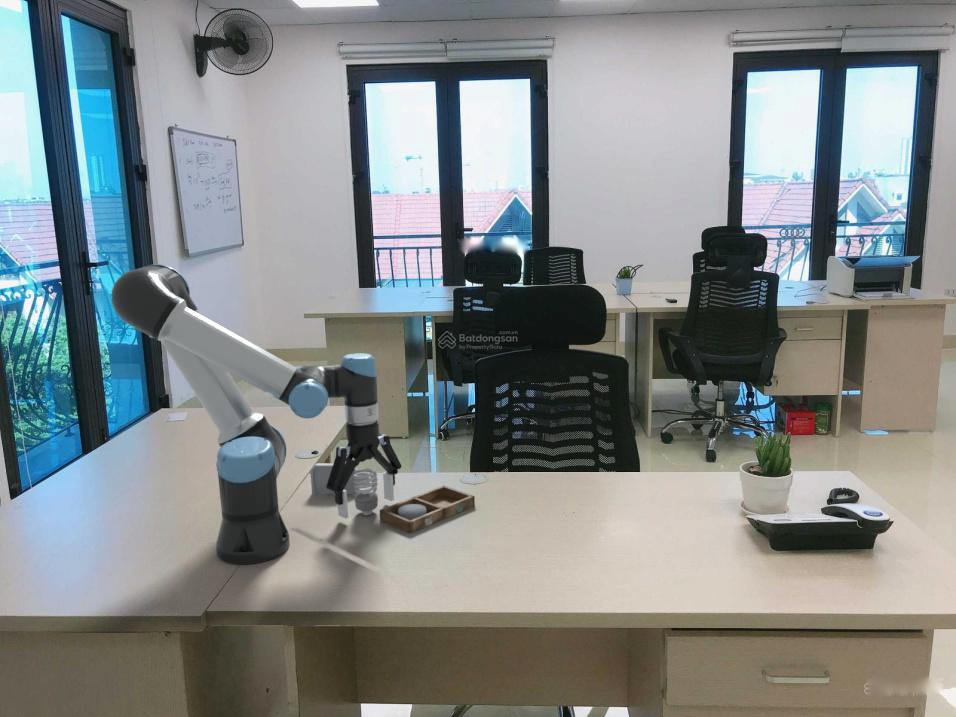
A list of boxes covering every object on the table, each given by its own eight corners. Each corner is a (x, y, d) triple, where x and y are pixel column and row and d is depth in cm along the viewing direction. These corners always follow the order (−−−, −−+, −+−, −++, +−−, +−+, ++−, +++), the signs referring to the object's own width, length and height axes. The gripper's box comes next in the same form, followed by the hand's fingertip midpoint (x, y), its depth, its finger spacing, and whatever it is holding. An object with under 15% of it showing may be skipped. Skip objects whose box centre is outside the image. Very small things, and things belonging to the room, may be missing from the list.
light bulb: (350, 519, 181) (347, 470, 179) (364, 510, 186) (362, 463, 183) (370, 523, 178) (367, 474, 176) (384, 514, 183) (381, 466, 181)
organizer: (411, 537, 170) (410, 522, 170) (380, 524, 178) (379, 509, 177) (475, 509, 185) (475, 496, 184) (444, 498, 192) (443, 485, 191)
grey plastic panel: (357, 495, 196) (356, 465, 194) (311, 494, 197) (309, 465, 195) (359, 492, 198) (357, 463, 196) (313, 491, 199) (312, 462, 197)
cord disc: (411, 527, 173) (411, 517, 173) (393, 519, 178) (392, 510, 177) (432, 518, 178) (432, 509, 177) (413, 511, 182) (413, 501, 182)
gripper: (326, 436, 166) (332, 528, 170) (413, 412, 184) (417, 496, 188) (306, 430, 171) (313, 519, 175) (393, 407, 189) (397, 488, 193)
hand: (366, 507), depth 182 cm, fingers open, 13 cm apart
